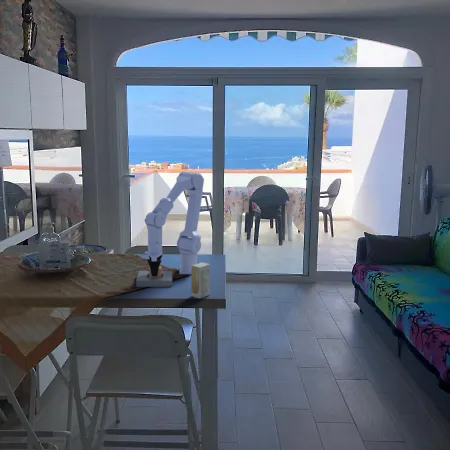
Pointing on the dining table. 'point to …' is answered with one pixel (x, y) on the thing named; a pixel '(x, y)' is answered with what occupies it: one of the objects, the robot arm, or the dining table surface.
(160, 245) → the robot arm
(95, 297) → the dining table surface
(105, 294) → the dining table surface
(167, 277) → the socket
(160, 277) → the plug
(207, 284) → the skincare box
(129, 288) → the dining table surface
